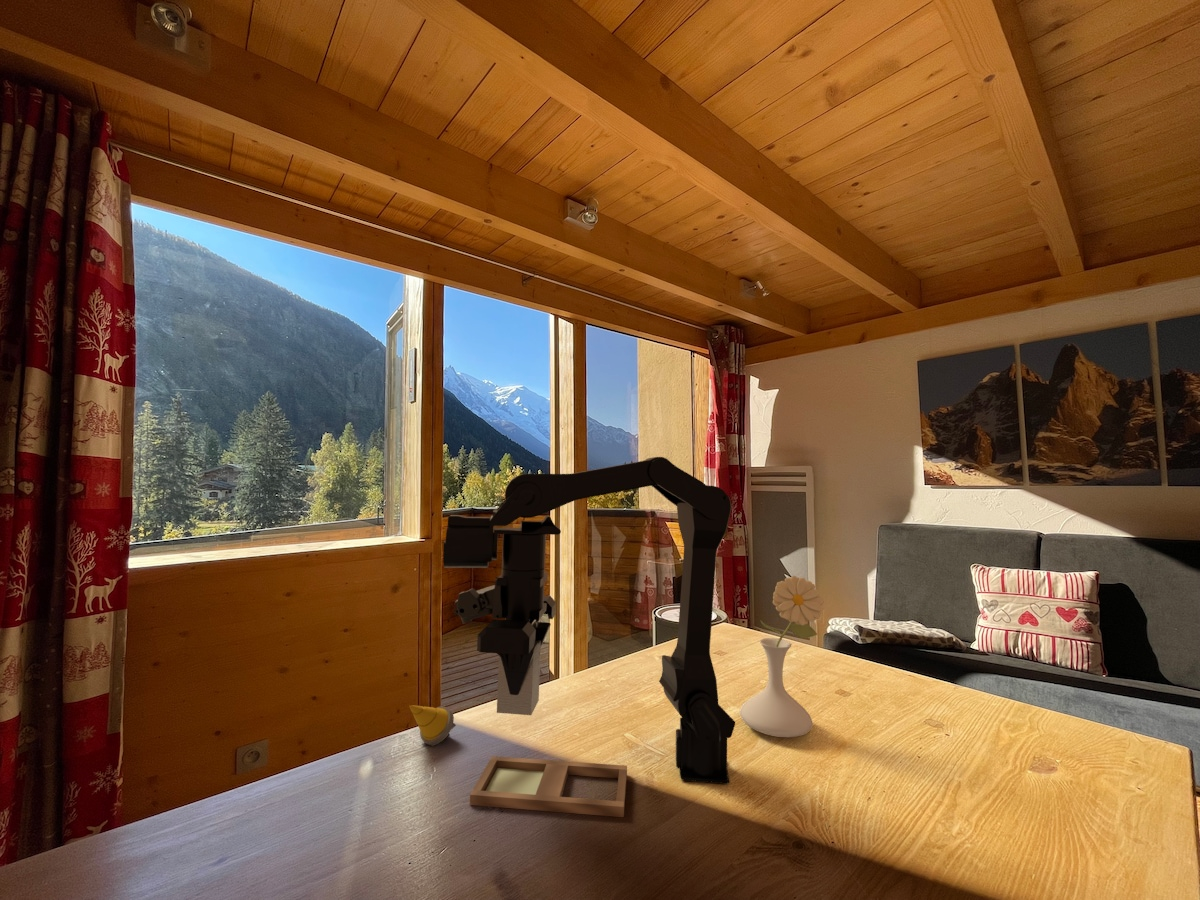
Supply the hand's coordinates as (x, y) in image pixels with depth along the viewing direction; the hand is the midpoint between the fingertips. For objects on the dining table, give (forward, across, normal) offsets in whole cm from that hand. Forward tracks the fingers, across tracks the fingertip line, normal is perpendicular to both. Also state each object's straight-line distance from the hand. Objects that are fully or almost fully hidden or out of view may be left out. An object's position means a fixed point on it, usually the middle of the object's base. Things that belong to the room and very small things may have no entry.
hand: (519, 686), depth 69 cm
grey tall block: (+2, 0, 0) cm, 2 cm away
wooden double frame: (+13, 0, +5) cm, 14 cm away
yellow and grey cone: (+13, -9, -15) cm, 22 cm away
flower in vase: (+12, -21, +39) cm, 46 cm away
